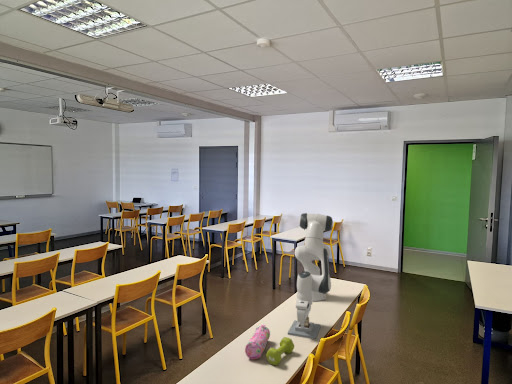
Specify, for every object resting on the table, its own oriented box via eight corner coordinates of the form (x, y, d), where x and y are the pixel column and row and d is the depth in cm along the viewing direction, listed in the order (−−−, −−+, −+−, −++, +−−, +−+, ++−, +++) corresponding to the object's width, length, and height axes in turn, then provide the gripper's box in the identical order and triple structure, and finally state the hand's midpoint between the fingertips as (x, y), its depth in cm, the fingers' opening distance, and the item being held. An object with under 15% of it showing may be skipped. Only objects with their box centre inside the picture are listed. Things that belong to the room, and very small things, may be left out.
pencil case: (255, 338, 181) (255, 322, 180) (271, 340, 178) (271, 324, 178) (243, 359, 160) (243, 341, 160) (261, 362, 158) (261, 344, 157)
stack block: (301, 325, 192) (301, 315, 191) (309, 327, 190) (309, 317, 190) (299, 329, 187) (299, 319, 187) (307, 330, 186) (307, 320, 185)
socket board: (294, 322, 199) (294, 317, 199) (320, 326, 193) (320, 321, 193) (287, 334, 184) (287, 328, 184) (315, 339, 178) (315, 333, 178)
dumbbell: (278, 368, 152) (278, 353, 152) (264, 363, 157) (264, 348, 157) (295, 352, 166) (295, 339, 165) (282, 348, 170) (282, 334, 170)
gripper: (303, 293, 198) (303, 315, 199) (294, 306, 179) (295, 330, 180) (313, 294, 196) (313, 317, 197) (306, 308, 177) (306, 332, 178)
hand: (304, 323), depth 188 cm, fingers open, 8 cm apart
